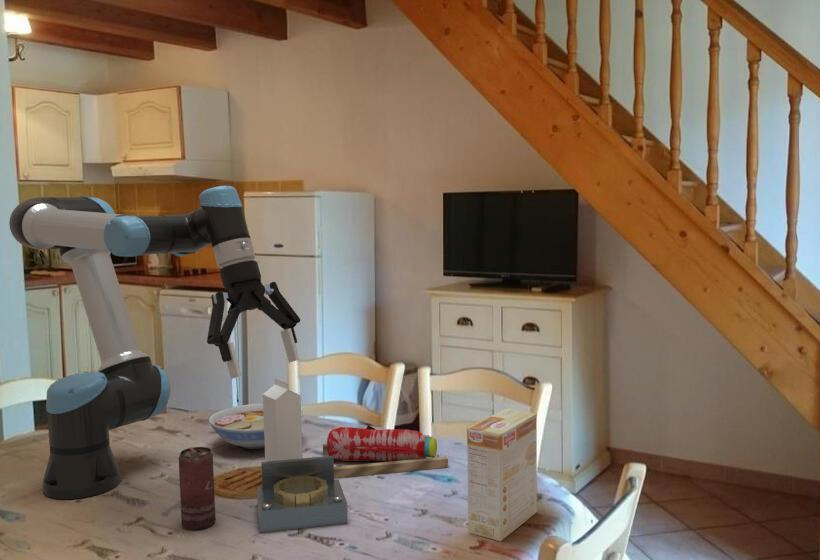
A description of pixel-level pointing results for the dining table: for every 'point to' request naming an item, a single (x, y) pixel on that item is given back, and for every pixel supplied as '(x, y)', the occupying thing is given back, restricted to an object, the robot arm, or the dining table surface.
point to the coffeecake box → (502, 473)
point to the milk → (282, 423)
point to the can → (197, 488)
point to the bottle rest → (388, 466)
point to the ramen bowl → (241, 425)
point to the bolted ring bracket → (300, 495)
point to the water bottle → (379, 444)
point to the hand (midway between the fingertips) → (266, 369)
